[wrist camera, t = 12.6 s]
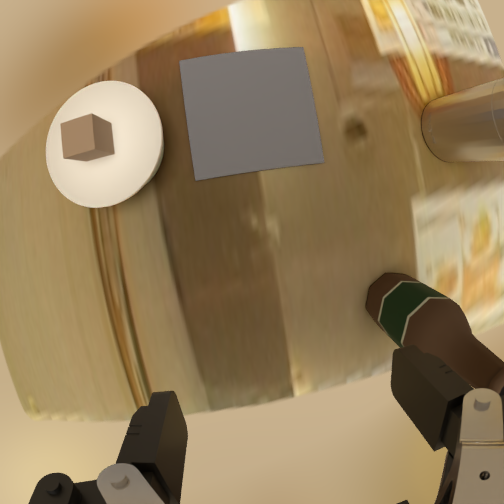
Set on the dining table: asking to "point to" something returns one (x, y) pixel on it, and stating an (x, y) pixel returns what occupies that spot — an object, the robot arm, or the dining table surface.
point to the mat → (250, 112)
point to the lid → (104, 144)
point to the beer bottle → (433, 328)
